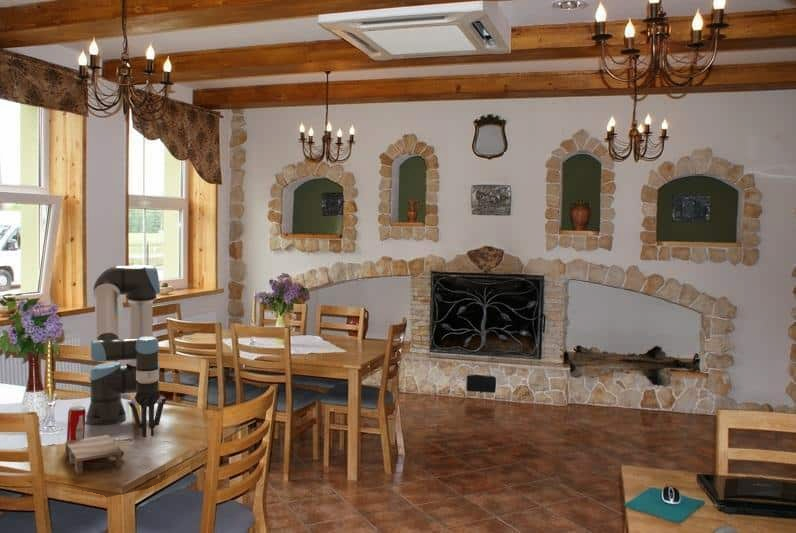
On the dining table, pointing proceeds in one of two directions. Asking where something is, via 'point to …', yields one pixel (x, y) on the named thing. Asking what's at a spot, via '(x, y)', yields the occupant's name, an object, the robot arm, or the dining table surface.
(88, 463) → the saucer
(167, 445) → the dining table surface
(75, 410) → the beverage can
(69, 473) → the dining table surface
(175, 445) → the dining table surface
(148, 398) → the robot arm
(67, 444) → the overhang shelf
